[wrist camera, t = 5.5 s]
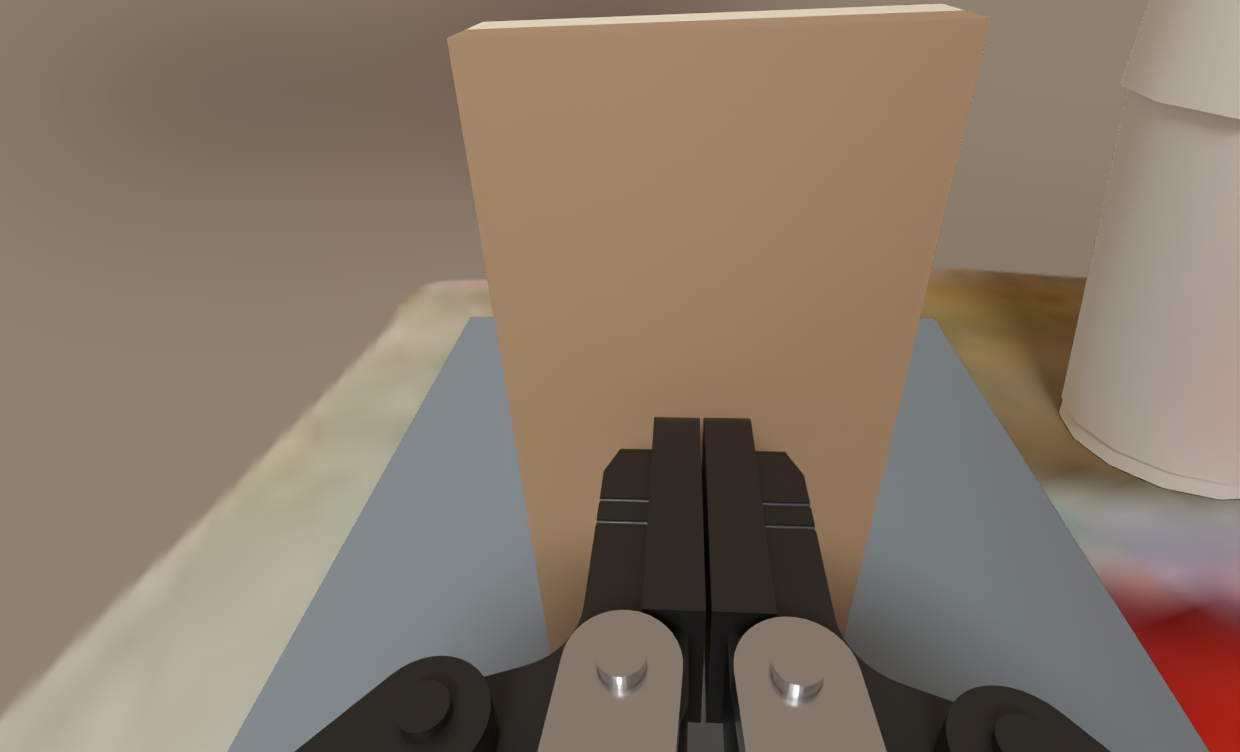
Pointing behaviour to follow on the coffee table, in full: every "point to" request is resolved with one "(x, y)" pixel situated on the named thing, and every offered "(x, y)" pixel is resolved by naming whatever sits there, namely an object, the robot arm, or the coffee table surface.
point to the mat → (876, 631)
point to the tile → (710, 243)
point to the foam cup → (1168, 264)
